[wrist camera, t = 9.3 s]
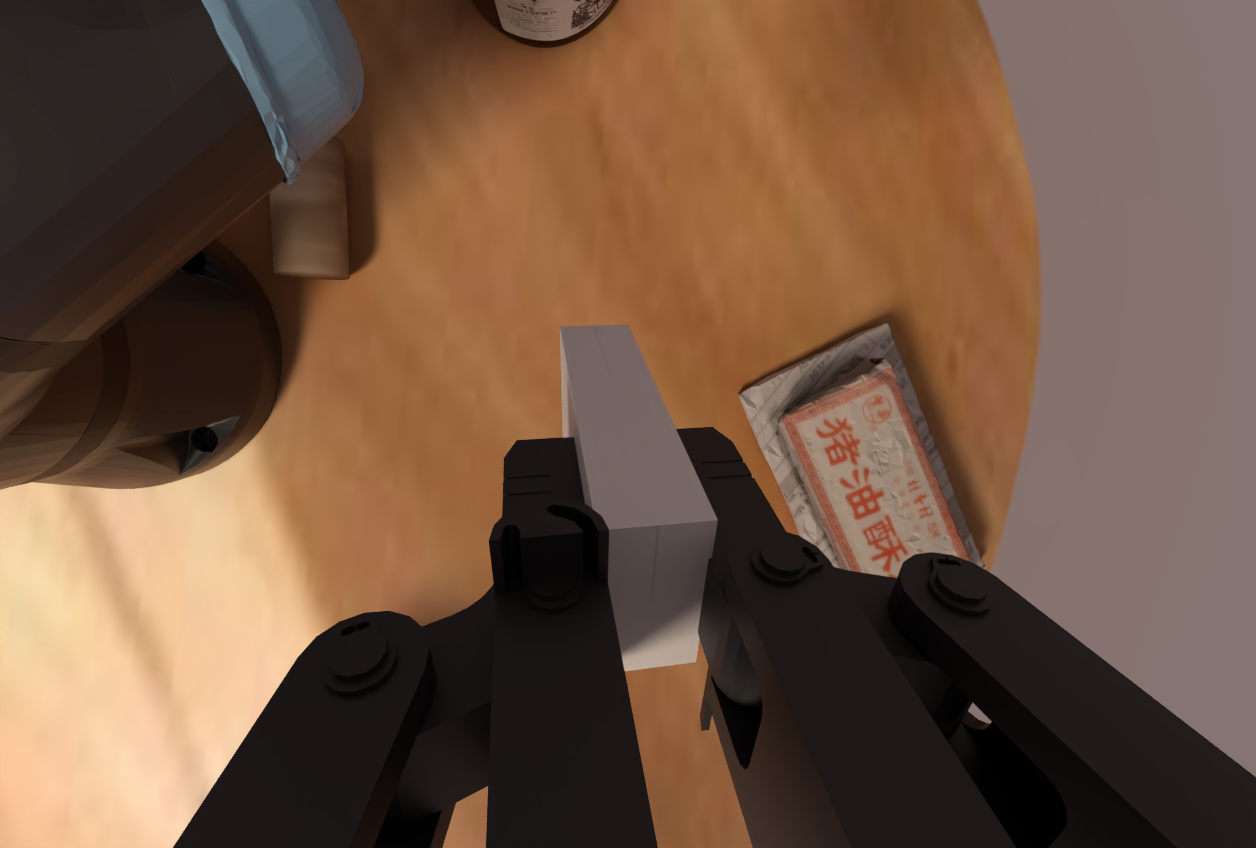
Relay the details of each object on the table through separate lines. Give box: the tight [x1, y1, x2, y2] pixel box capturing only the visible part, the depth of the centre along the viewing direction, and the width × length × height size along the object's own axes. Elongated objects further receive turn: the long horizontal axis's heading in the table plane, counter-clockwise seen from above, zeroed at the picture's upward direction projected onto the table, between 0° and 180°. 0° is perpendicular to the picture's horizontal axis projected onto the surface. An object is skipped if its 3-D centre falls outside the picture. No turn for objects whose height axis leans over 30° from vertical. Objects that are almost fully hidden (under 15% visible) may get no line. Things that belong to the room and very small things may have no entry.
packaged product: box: [738, 323, 986, 578], centre depth 34 cm, size 18×5×10 cm
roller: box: [269, 136, 350, 280], centre depth 30 cm, size 7×4×4 cm, turn 179°
